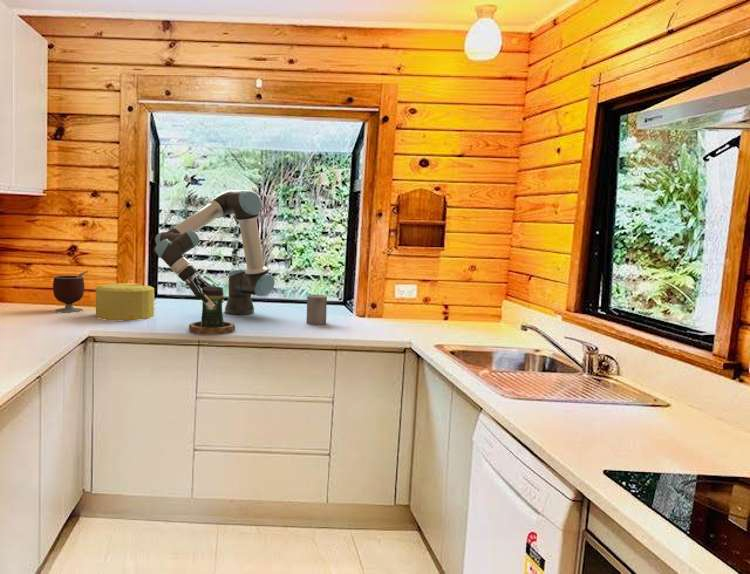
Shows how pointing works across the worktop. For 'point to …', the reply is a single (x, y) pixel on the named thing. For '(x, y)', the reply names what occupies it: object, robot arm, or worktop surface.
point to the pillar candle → (316, 309)
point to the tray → (226, 328)
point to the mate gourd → (68, 291)
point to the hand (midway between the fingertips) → (217, 305)
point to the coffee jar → (214, 315)
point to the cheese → (124, 301)
